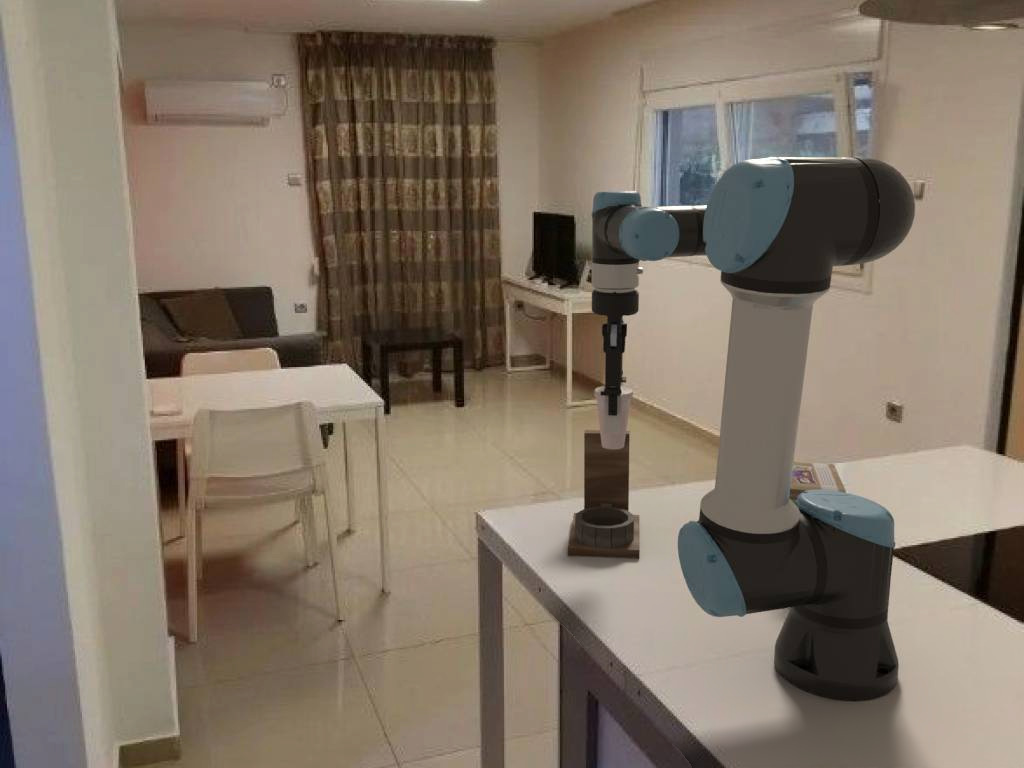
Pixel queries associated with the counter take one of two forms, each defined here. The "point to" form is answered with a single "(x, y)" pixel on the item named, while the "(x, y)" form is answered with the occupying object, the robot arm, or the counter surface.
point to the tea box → (814, 478)
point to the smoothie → (619, 439)
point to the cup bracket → (605, 504)
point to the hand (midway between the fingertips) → (613, 426)
